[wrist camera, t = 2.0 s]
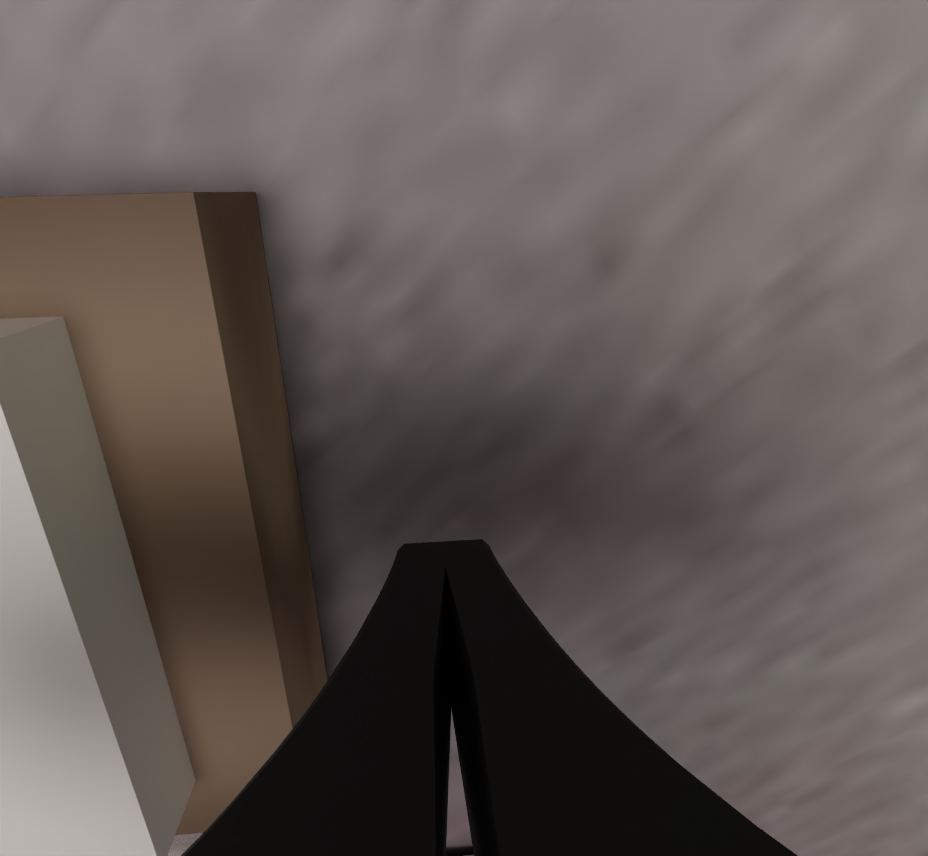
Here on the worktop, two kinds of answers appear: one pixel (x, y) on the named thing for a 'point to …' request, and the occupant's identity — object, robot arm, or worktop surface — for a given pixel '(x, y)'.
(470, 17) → the worktop surface
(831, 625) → the worktop surface
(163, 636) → the brown flat slab
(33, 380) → the cream tilted tile
